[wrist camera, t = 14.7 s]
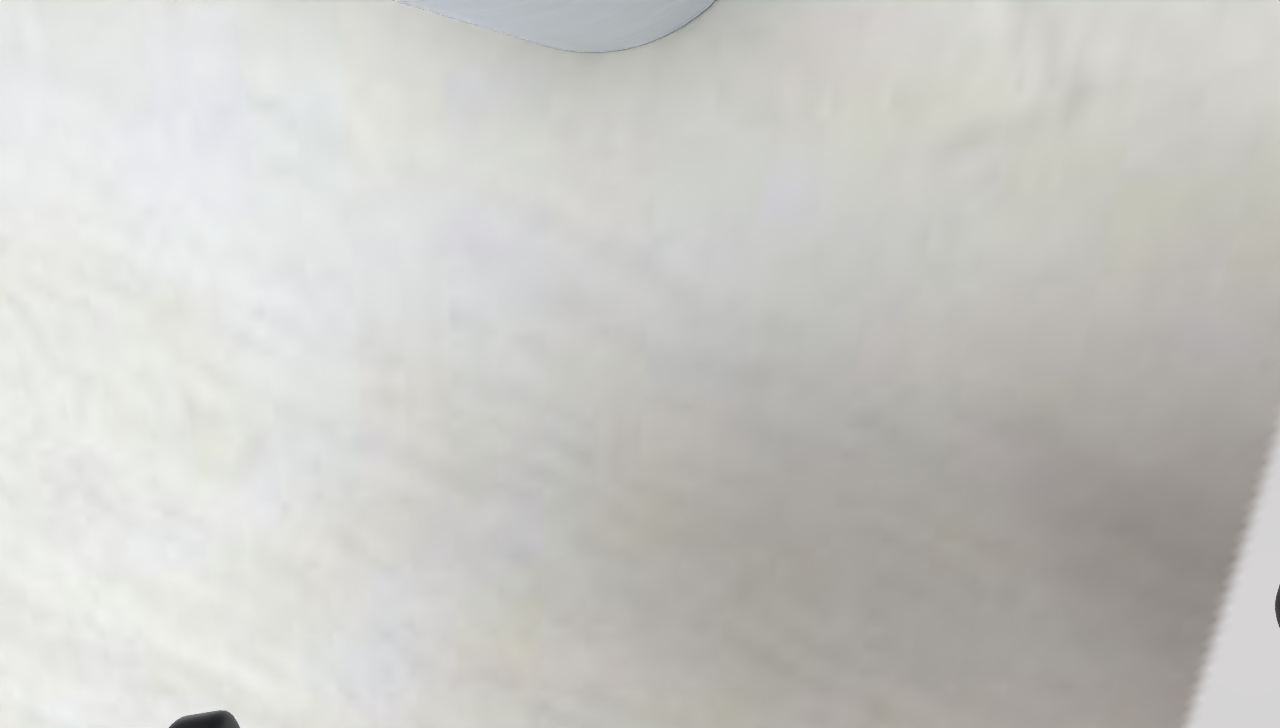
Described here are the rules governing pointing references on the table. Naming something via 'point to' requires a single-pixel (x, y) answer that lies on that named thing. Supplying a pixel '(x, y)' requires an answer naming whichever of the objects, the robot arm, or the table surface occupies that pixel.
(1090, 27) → the table surface
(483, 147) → the table surface
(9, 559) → the table surface
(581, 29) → the grey upright cylinder
